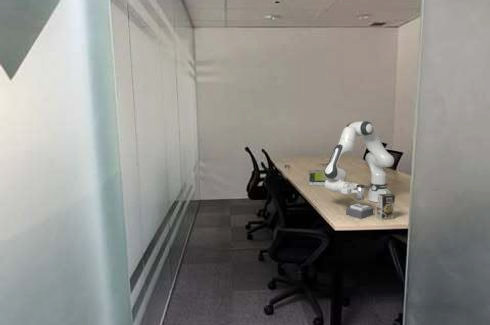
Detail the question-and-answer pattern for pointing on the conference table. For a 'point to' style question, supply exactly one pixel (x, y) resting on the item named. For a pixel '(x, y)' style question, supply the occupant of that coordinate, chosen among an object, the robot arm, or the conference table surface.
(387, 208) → the coffee box
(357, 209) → the grey white square holder
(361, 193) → the glass jar
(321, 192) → the conference table surface
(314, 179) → the tea box
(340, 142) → the robot arm
